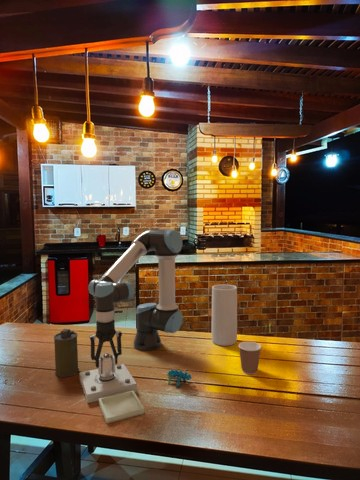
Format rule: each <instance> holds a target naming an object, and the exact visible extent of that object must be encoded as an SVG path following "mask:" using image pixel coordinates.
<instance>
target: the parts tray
mask: <svg viewBox="0 0 360 480" xmlns="http://www.w3.org/2000/svg"><path fill="white" fill-rule="evenodd" d="M98 404H99V408H100V410H101V413H102V416H103V418H104V421H105V423H106V425H107V424H112V423H115V422H119V421H123V420H125V419H129V418H133V417H138V416H141V415H144V414H145V406H144V405H143V403H142V402H141V401H140V399H139V397H138V396H137V394H136V392H134V391H129V392H124V393H120V394H116V395H112V396H107V397H103V398H99V401H98Z"/></svg>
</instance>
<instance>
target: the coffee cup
mask: <svg viewBox="0 0 360 480" xmlns="http://www.w3.org/2000/svg"><path fill="white" fill-rule="evenodd" d="M238 349H239V358H240V368H241V371H242V373H244V374H247V375H255V374H257V372H258V369H259V363H260V355H261V349H262V345H261V344H259V343H257V342H254V341H243V342H239V344H238Z"/></svg>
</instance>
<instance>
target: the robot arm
mask: <svg viewBox="0 0 360 480" xmlns="http://www.w3.org/2000/svg"><path fill="white" fill-rule="evenodd" d="M182 248H183V238H182V236H181V234H180V233H179V231H177V230H175V229H171V228H166V229H165V228H164V229H163V228H159V229H158V228H151V229H150V228H149V229H147V230H146V231H143V232H142V233H140V234H139V235H137V237H135V238H134V239H133V241H131V244H130V246H129V247H128V248H127V249H126V251H125V252H124V253H123V254H122V255H121V256H120V257H118V259H117V260H116V261H115V262H114V263H113V264H112V265H111V266H110V267H109V268H108V270H106V271H105V272H104V274H103V275H102V276H101V277H100V278H99V279H96V278H95V279H93V280H91V281H89V284H88V293H89V294H90V295H92V296H95V297H94V298H95V320H96V322H95V324H96V327H95V328H96V332H95V333H94V334H93V335H89V336H88V337H89V339H90V340H89V341H90V358H91V360H92V361H95V367H96V369H98V373H99V376H101V360H100V357H101V353H102V349H103V346H104V343H106V342H109V345H110V347H111V348H110V349H111V351H112V354H113V355H112V359H113V372H114V373H115V365H118V358H119V356H122V354H123V353H122V336H123V333H122V331H121V330H118V331H117V330H116V329H115V328H116V327H115V326H116V323H115V304H116V303H120V302H123V301H127V300H129V299H132V298H133V297H134V295H135V286H134V285H133V283H132V282H129V281H123V282H121V283H120V281H121V279H122V278H124V276H125V275H126V274H127V273H128V271H129V270H131V269H132V267H133V266H134V265H135V264H136V263H137V262H138V260H139V259H140V258H141V257H142V256H146V255H147V253H149V252H154V253H155V256H156V258H158V304H157V303H156V302H148V303H147V302H146V303H143V304H141V303H140V304H139V305H137V306H136V310H135V311H136V313H135V315H136V317H135V319H136V320H135V321H136V323H135V324H136V325H135V326H136V333H135V336H134V338H133V339H134V340H133V348H135V349H136V350H139V351H153V350H156V349H159V348H160V347H161V346H162V339H161V337H160V334H159V331H160V332H164V333H166V334H175V333H177V332H178V331H179V330H180V329H181V326H182V323H183V319H184V317H183V313H182V312H181V311H179V305H178V304H177V303H176V258H177V257H178V256H179V252H181V250H182ZM115 336H116V345H115V344H114V343H115V342H114V340H113V338H114V337H115ZM96 338H97V339H98V344H97V348H96V347H95V346H96V345H95V344H96V343H95V341H96V340H97V339H96ZM116 346H117V347H116ZM116 349H117V350H116ZM95 350H96V352H95Z"/></svg>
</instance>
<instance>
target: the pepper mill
mask: <svg viewBox="0 0 360 480" xmlns="http://www.w3.org/2000/svg"><path fill="white" fill-rule="evenodd" d="M112 356H113V355H112V353H107V352H106V353H104V354H102V355H100V360H101V376H100V379H101V381H102V382H108V381H112V380H113V378H114V374H113V359H112Z"/></svg>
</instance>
